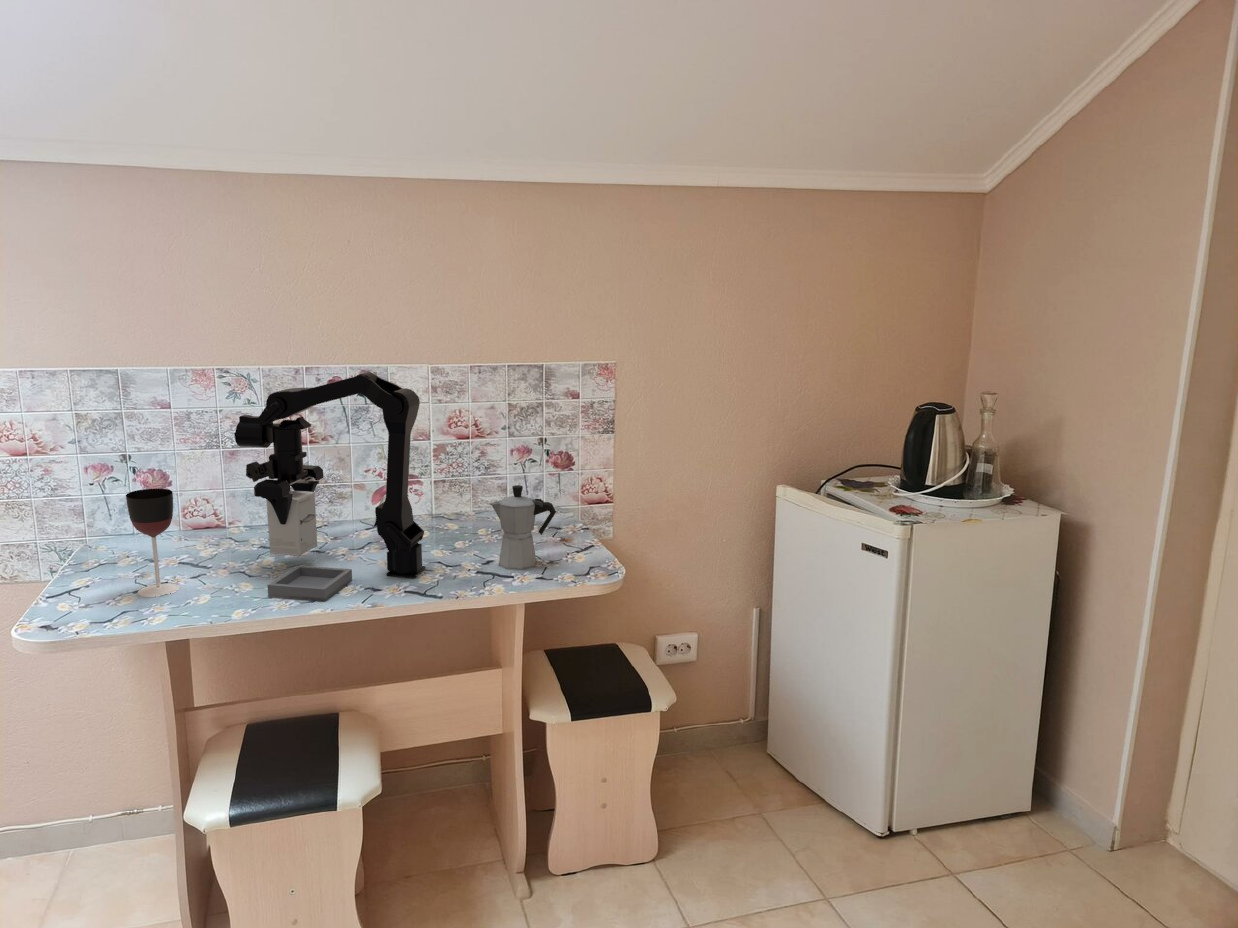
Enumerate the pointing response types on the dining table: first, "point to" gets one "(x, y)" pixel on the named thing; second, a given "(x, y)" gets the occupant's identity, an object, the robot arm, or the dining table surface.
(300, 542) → the supplement box
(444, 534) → the dining table surface
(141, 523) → the wineglass
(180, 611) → the dining table surface
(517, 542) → the coffee maker
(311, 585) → the tray
